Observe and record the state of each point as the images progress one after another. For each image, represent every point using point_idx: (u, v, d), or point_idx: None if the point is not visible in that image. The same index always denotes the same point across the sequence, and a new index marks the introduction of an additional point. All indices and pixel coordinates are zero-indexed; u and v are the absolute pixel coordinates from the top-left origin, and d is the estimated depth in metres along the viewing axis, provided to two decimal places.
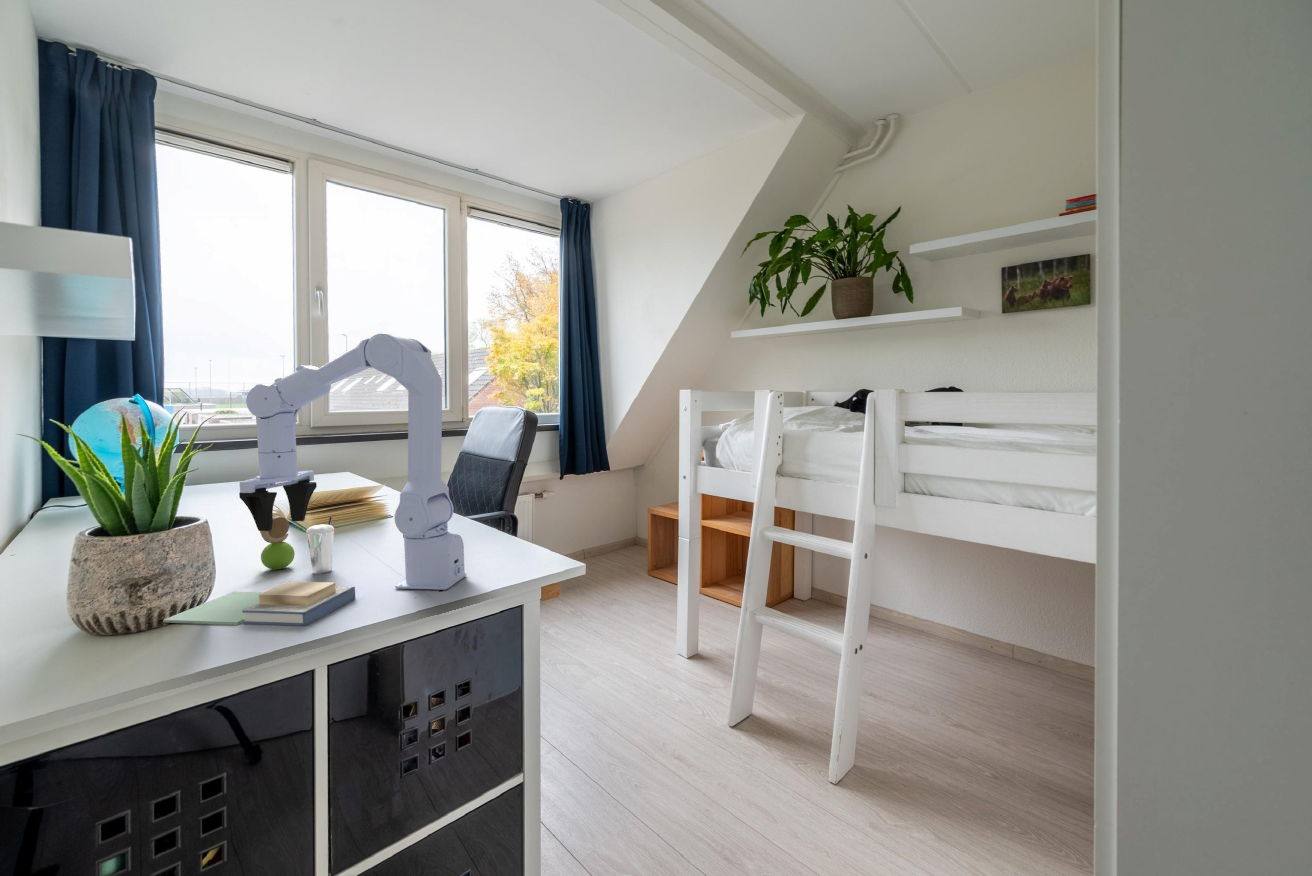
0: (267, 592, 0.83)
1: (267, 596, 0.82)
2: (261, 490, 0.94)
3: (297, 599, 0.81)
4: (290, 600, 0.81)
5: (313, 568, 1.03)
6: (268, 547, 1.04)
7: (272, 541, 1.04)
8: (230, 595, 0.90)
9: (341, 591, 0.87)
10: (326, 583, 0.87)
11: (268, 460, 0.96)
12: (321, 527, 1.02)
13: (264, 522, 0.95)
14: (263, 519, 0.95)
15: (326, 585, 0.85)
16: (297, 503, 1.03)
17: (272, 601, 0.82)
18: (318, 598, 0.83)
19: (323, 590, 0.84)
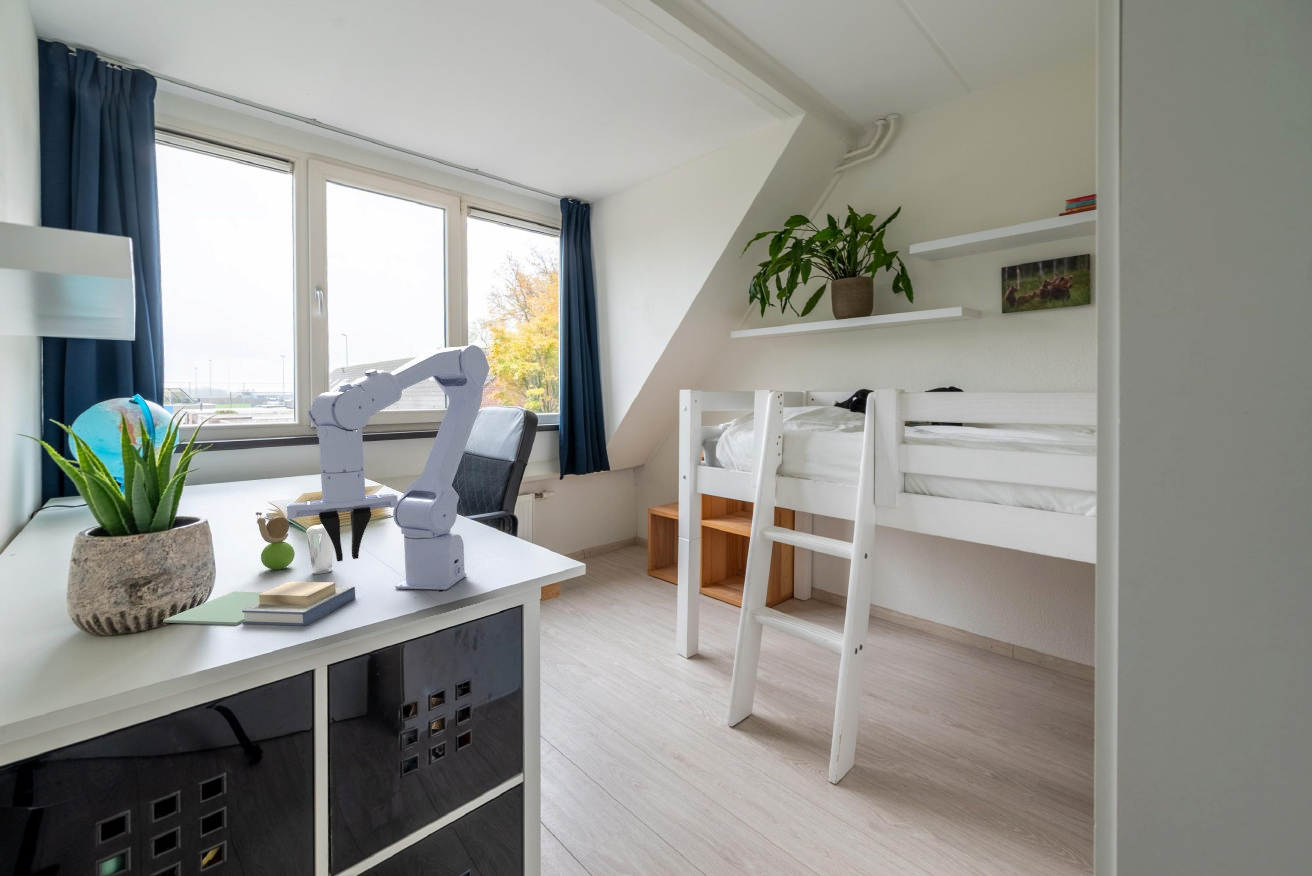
0: (267, 592, 0.83)
1: (267, 596, 0.82)
2: (329, 514, 0.81)
3: (297, 599, 0.81)
4: (290, 600, 0.81)
5: (313, 568, 1.03)
6: (268, 547, 1.04)
7: (272, 541, 1.04)
8: (230, 595, 0.90)
9: (341, 591, 0.87)
10: (326, 583, 0.87)
11: (322, 481, 0.80)
12: (321, 527, 1.02)
13: (335, 551, 0.82)
14: None
15: (326, 585, 0.85)
16: (353, 536, 0.83)
17: (272, 601, 0.82)
18: (318, 598, 0.83)
19: (323, 590, 0.84)
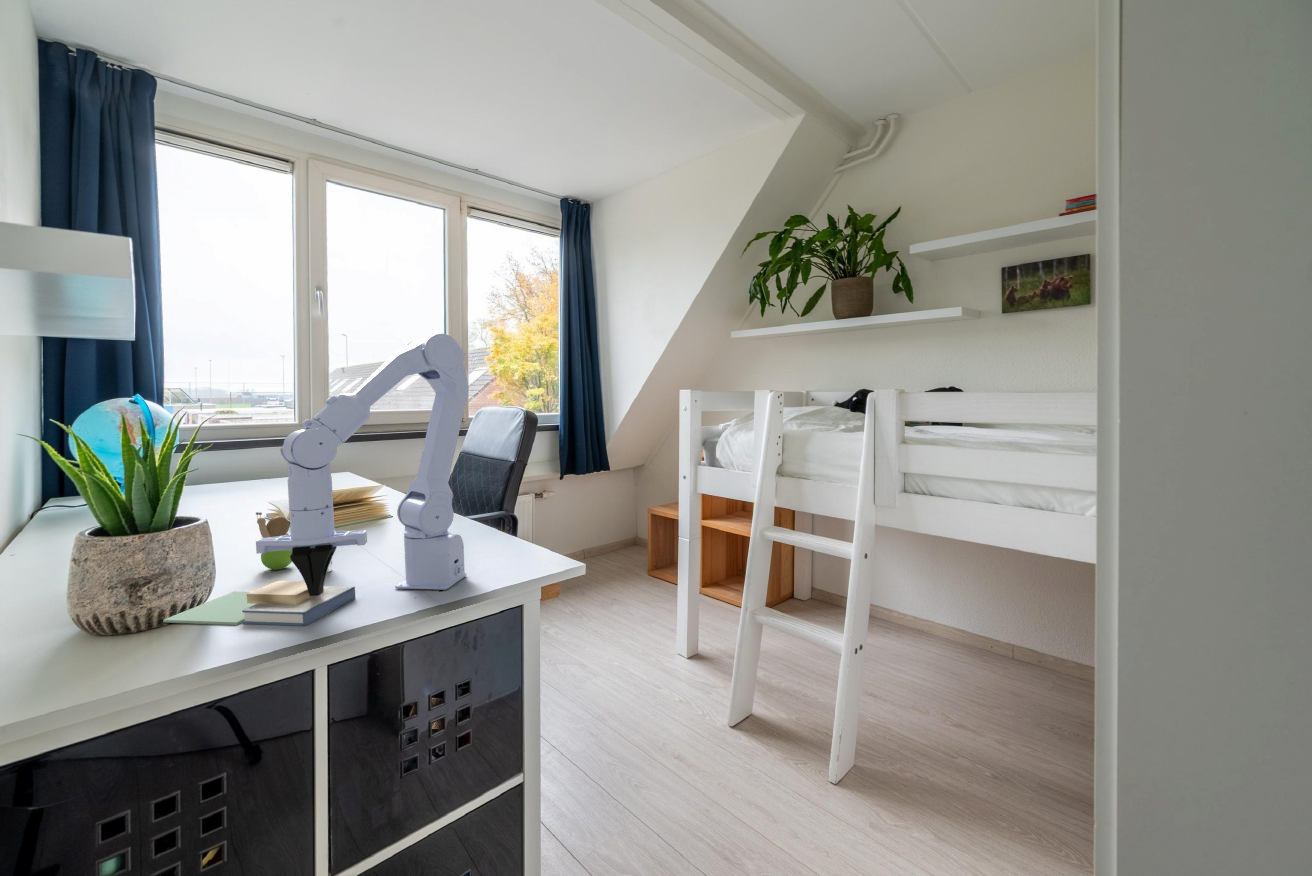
0: (255, 592, 0.83)
1: (255, 595, 0.82)
2: (302, 549, 0.82)
3: (285, 598, 0.82)
4: (278, 599, 0.82)
5: None
6: None
7: None
8: (230, 595, 0.90)
9: (341, 591, 0.87)
10: None
11: None
12: None
13: None
14: None
15: None
16: None
17: (260, 600, 0.82)
18: (306, 597, 0.84)
19: None
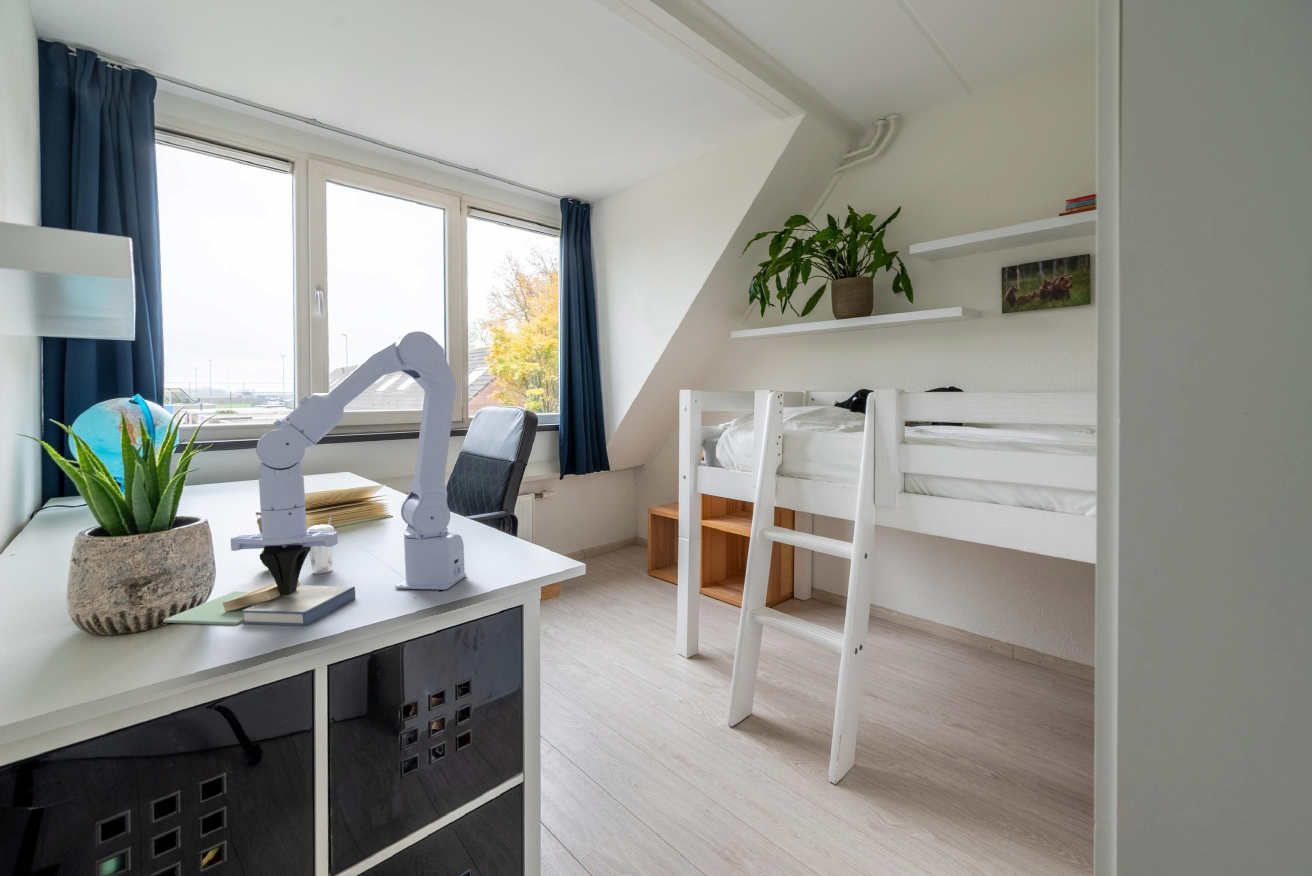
0: (231, 599, 0.84)
1: (230, 602, 0.83)
2: (273, 548, 0.83)
3: (259, 596, 0.82)
4: (252, 599, 0.83)
5: (313, 568, 1.03)
6: None
7: None
8: (230, 595, 0.90)
9: (341, 591, 0.87)
10: None
11: None
12: (321, 527, 1.02)
13: None
14: None
15: None
16: None
17: (236, 605, 0.83)
18: None
19: None
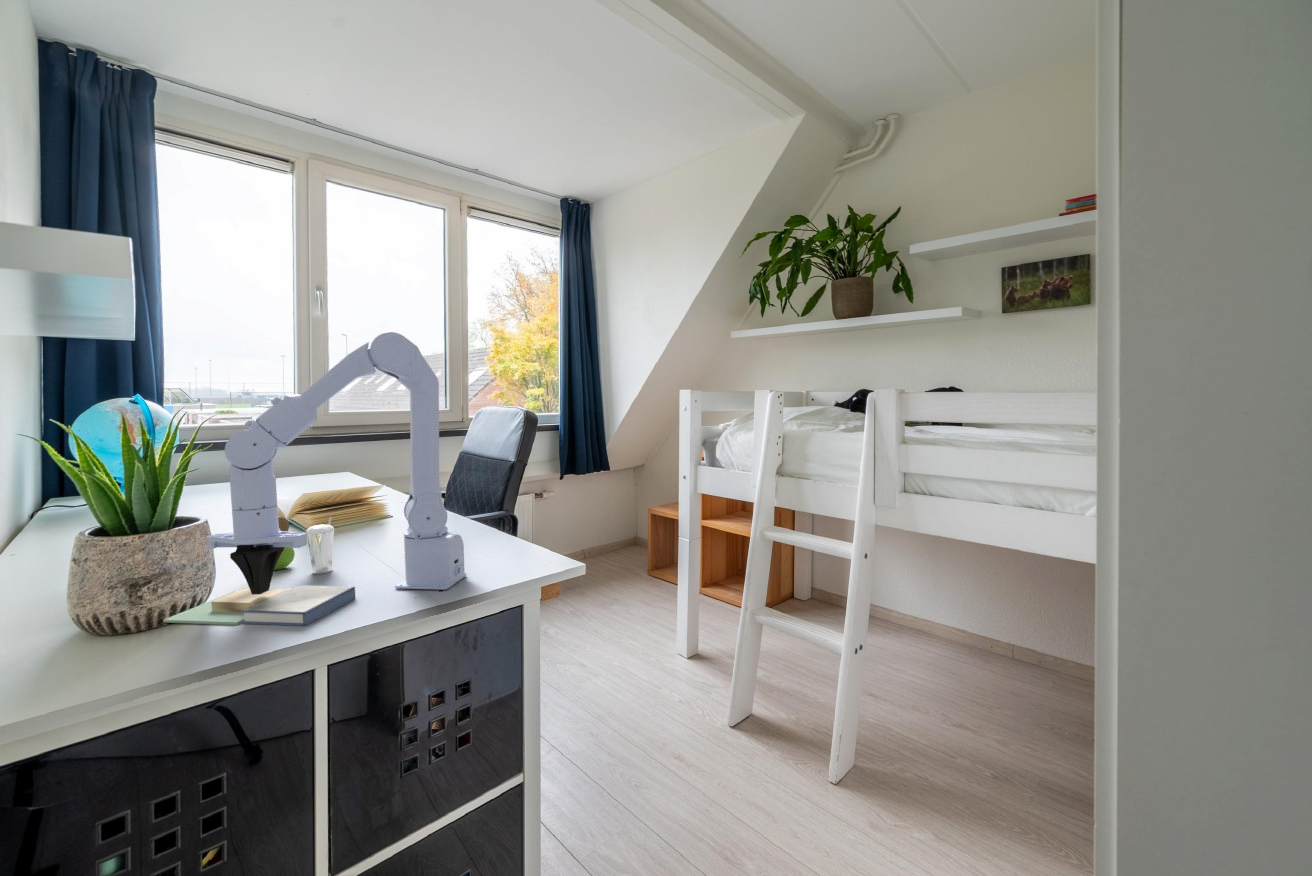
0: (220, 600, 0.84)
1: (219, 603, 0.83)
2: (244, 548, 0.84)
3: (248, 606, 0.83)
4: (242, 607, 0.83)
5: (313, 568, 1.03)
6: None
7: None
8: None
9: (341, 591, 0.87)
10: (280, 590, 0.88)
11: None
12: (321, 527, 1.02)
13: None
14: None
15: (279, 592, 0.87)
16: None
17: (224, 608, 0.83)
18: None
19: None
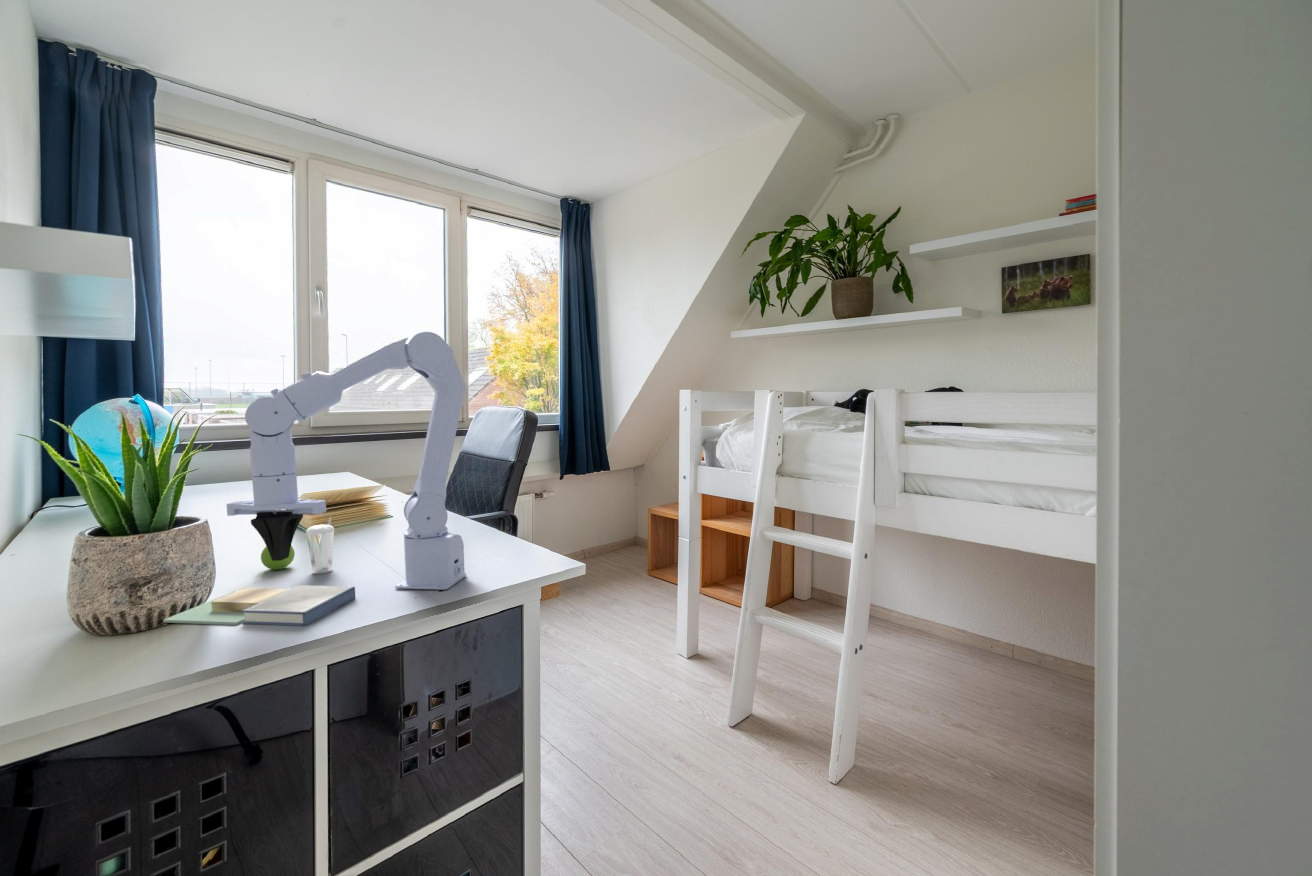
0: (220, 600, 0.84)
1: (219, 603, 0.83)
2: (264, 514, 0.85)
3: (248, 606, 0.83)
4: (242, 607, 0.83)
5: (313, 568, 1.03)
6: None
7: None
8: None
9: (341, 591, 0.87)
10: (280, 590, 0.88)
11: None
12: (321, 527, 1.02)
13: None
14: None
15: (279, 592, 0.87)
16: None
17: (224, 608, 0.83)
18: None
19: None
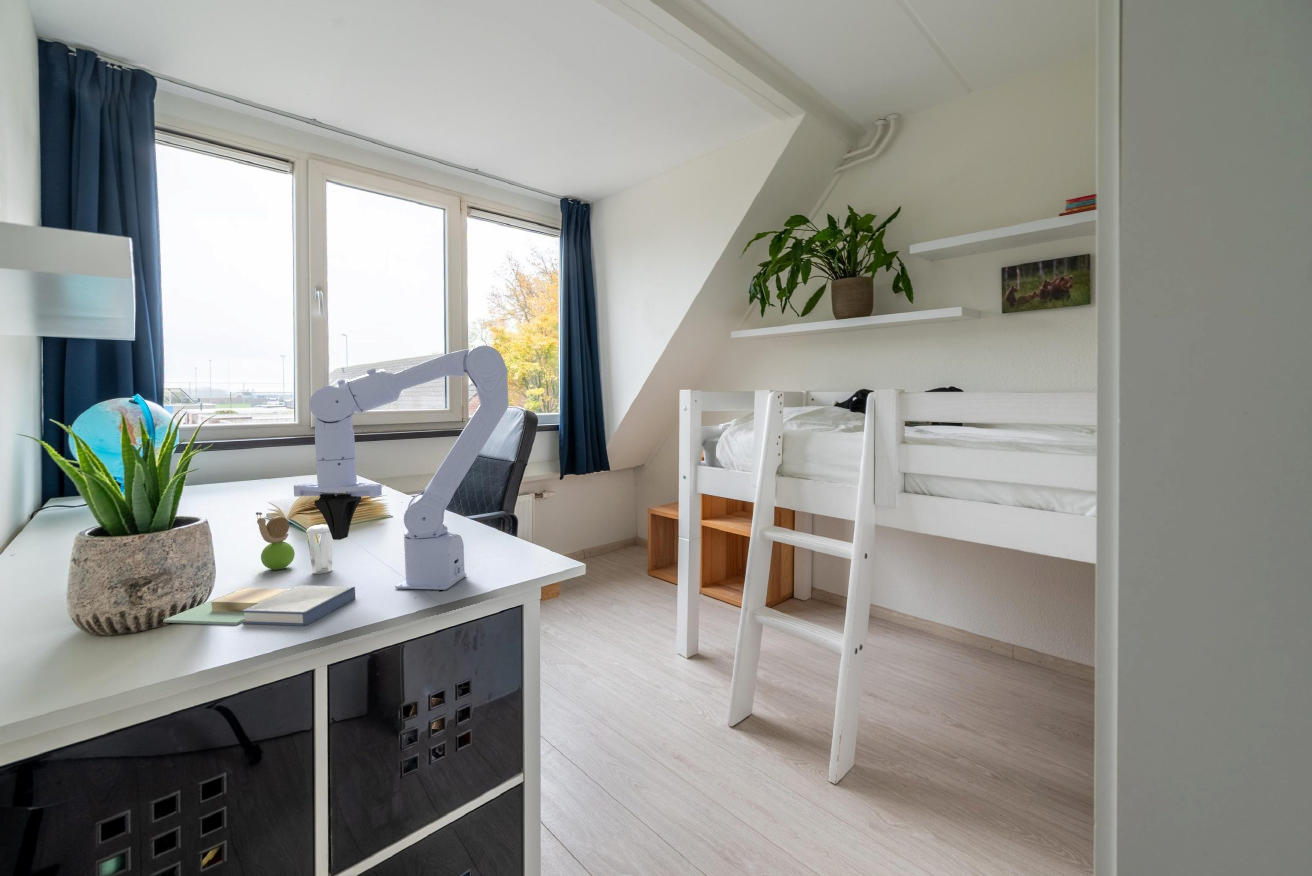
0: (220, 600, 0.84)
1: (219, 603, 0.83)
2: (327, 496, 0.91)
3: (248, 606, 0.83)
4: (242, 607, 0.83)
5: (313, 568, 1.03)
6: (268, 547, 1.04)
7: (272, 541, 1.04)
8: None
9: (341, 591, 0.87)
10: (280, 590, 0.88)
11: None
12: (321, 527, 1.02)
13: None
14: None
15: (279, 592, 0.87)
16: None
17: (224, 608, 0.83)
18: None
19: None
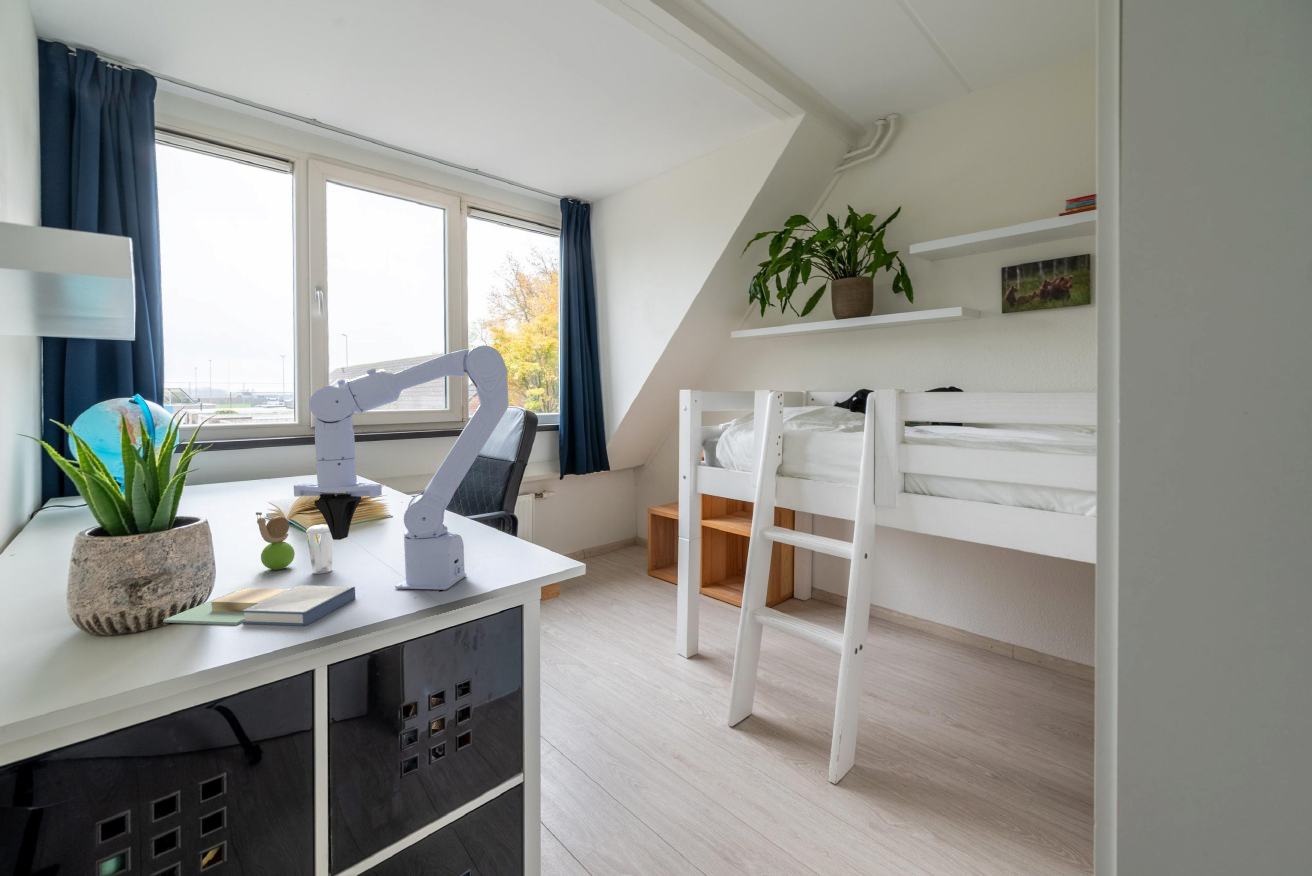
0: (220, 600, 0.84)
1: (219, 603, 0.83)
2: (327, 496, 0.91)
3: (248, 606, 0.83)
4: (242, 607, 0.83)
5: (313, 568, 1.03)
6: (268, 547, 1.04)
7: (272, 541, 1.04)
8: None
9: (341, 591, 0.87)
10: (280, 590, 0.88)
11: None
12: (321, 527, 1.02)
13: None
14: None
15: (279, 592, 0.87)
16: None
17: (224, 608, 0.83)
18: None
19: None
